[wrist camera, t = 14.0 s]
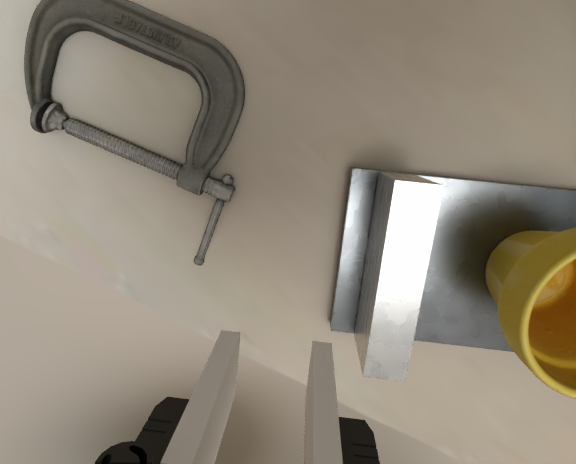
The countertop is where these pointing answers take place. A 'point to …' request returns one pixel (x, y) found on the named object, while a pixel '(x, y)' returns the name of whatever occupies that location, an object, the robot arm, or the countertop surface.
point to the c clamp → (159, 45)
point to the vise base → (450, 252)
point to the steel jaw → (395, 273)
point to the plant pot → (538, 302)
